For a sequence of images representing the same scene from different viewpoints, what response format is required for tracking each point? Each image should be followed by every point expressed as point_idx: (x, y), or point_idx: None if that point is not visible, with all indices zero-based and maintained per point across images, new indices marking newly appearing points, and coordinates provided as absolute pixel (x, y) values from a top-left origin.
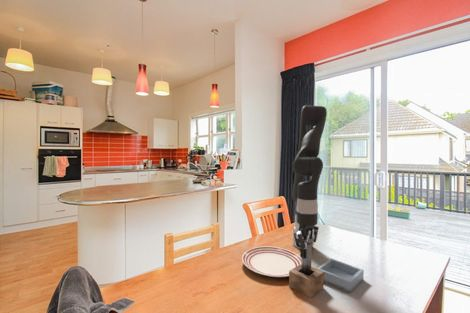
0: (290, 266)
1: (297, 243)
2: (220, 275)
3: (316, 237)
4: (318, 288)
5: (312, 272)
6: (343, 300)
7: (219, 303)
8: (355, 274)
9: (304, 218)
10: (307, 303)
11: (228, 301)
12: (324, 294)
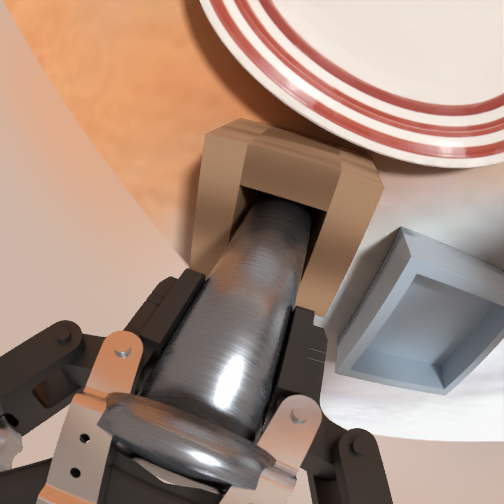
0: (454, 72)
1: (38, 356)
2: None
3: (339, 499)
4: None
5: (309, 258)
6: None
7: (30, 13)
8: (404, 383)
9: None
10: (180, 223)
11: (42, 18)
12: None
